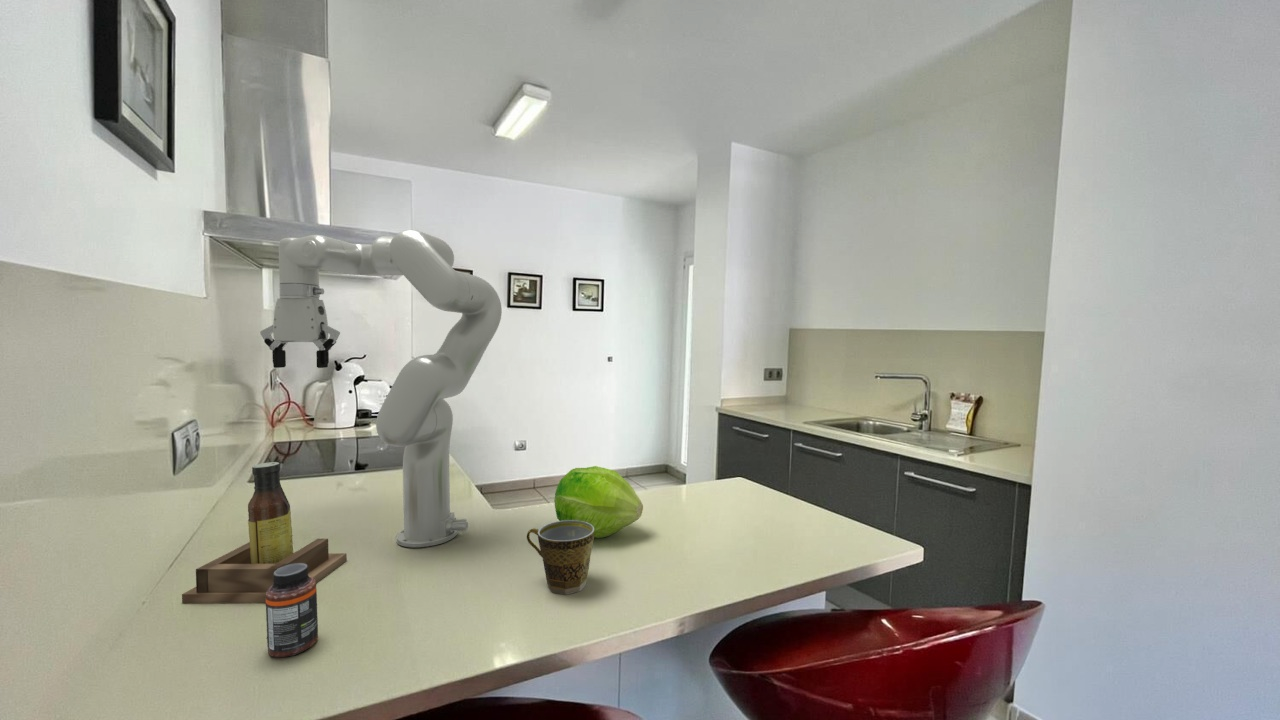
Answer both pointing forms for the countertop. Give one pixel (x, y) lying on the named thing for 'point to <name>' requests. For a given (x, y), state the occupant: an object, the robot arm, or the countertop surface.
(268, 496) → the sauce bottle
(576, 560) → the ceramic cup
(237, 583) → the bottle stand
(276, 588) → the supplement bottle
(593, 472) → the lettuce
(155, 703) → the countertop surface
